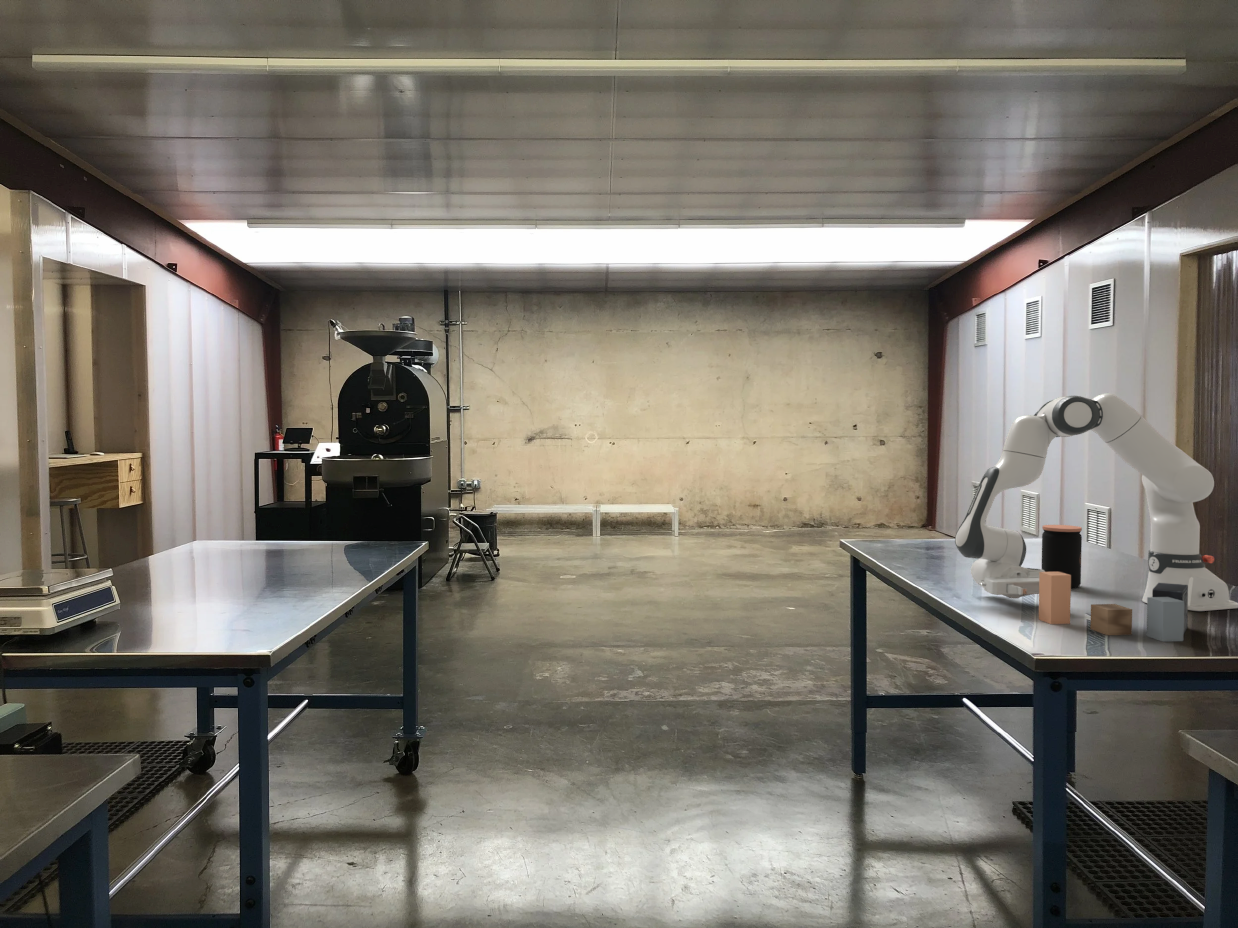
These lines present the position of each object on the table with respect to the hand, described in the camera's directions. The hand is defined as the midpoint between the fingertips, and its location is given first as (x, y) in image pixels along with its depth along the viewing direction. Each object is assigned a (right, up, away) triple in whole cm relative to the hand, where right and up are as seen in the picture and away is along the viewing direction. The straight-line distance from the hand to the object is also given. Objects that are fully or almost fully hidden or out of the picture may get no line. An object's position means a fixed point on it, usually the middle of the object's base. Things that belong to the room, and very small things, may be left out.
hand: (1041, 591), depth 211 cm
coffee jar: (+27, -5, +41) cm, 49 cm away
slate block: (+17, -7, -22) cm, 29 cm away
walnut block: (+8, -7, -16) cm, 19 cm away
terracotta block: (0, -7, -5) cm, 8 cm away
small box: (+23, -7, -14) cm, 28 cm away
